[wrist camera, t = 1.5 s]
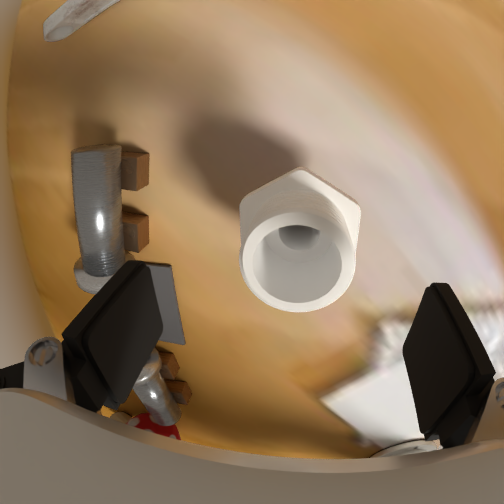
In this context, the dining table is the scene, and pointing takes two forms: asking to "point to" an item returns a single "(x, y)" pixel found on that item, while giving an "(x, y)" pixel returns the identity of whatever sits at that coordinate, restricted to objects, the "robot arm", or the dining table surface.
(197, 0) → the dining table surface
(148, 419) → the decorative mushroom
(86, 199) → the shaft
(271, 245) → the pipe fitting
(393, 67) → the dining table surface
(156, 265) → the seat pad
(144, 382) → the shaft
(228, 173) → the dining table surface
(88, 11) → the wrench
